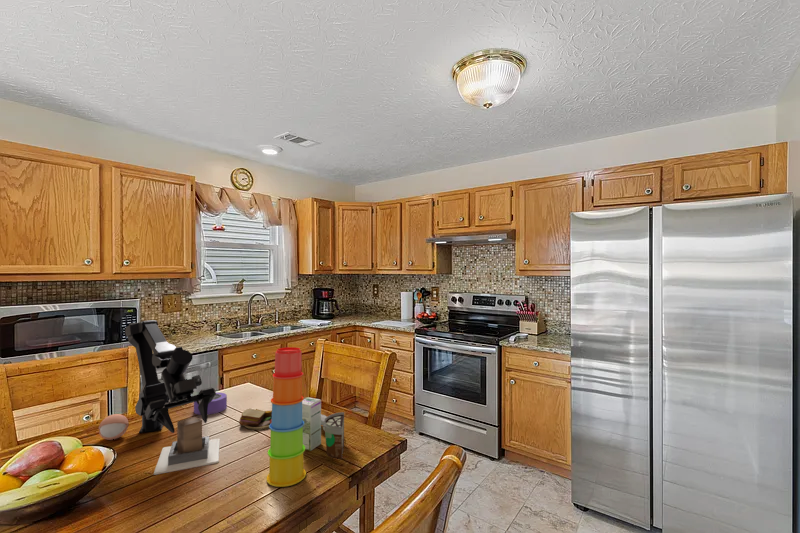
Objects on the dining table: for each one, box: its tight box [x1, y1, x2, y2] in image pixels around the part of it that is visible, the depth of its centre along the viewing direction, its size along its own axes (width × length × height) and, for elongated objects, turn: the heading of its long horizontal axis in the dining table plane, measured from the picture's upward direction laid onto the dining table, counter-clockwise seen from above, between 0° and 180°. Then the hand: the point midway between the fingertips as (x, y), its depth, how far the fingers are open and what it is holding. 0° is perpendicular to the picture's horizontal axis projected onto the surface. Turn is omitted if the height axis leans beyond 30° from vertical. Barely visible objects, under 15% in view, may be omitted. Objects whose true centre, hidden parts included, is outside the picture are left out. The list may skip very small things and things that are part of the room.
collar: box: [168, 435, 210, 465], centre depth 115 cm, size 10×10×2 cm
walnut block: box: [176, 415, 203, 454], centre depth 115 cm, size 5×5×10 cm
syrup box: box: [302, 396, 322, 452], centre depth 121 cm, size 6×6×14 cm
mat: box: [153, 438, 221, 476], centre depth 115 cm, size 16×16×1 cm
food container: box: [322, 411, 345, 460], centre depth 117 cm, size 12×6×10 cm, turn 5°
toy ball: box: [98, 413, 129, 441], centre depth 126 cm, size 8×8×8 cm
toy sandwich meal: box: [238, 408, 272, 431], centre depth 138 cm, size 12×14×5 cm
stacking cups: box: [266, 346, 307, 488], centre depth 103 cm, size 10×10×35 cm
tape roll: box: [193, 392, 228, 416], centre depth 152 cm, size 12×12×5 cm
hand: (190, 427), depth 115 cm, fingers open, 9 cm apart
